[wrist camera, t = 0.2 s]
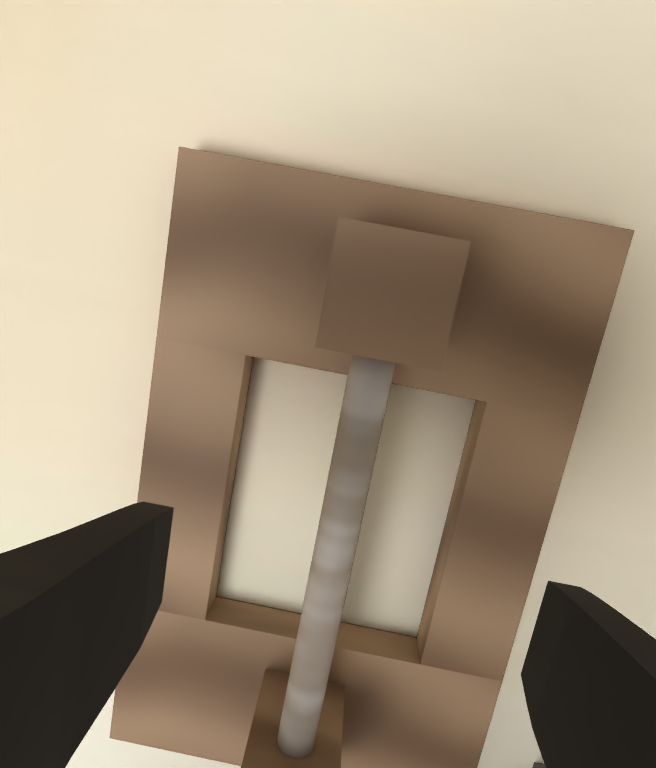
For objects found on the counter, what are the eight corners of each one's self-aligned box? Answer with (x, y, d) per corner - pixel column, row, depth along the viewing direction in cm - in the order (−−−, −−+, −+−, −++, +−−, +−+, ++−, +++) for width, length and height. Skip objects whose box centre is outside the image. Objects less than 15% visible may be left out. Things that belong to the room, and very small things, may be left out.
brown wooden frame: (457, 778, 23) (491, 972, 17) (125, 708, 24) (37, 872, 17) (612, 232, 18) (741, 217, 12) (193, 155, 19) (105, 101, 12)
